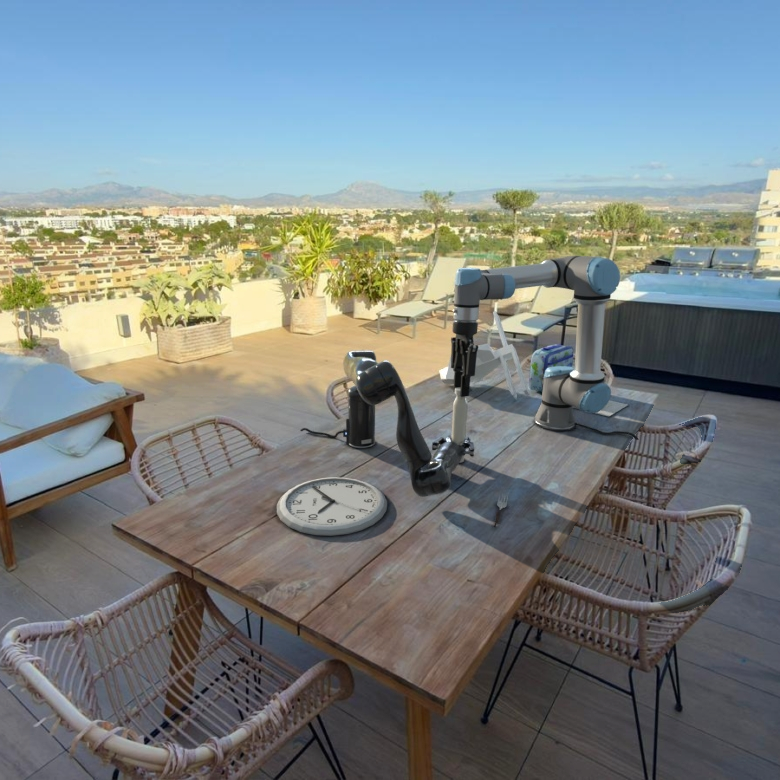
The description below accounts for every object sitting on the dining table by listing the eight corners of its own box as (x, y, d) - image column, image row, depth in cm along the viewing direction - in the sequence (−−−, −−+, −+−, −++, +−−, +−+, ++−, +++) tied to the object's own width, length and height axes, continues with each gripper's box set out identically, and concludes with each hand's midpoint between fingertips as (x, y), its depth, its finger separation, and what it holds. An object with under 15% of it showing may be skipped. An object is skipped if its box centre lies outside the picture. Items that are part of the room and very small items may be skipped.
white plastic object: (461, 429, 252) (437, 405, 227) (444, 352, 274) (420, 323, 250) (535, 404, 240) (518, 377, 215) (510, 326, 262) (492, 293, 237)
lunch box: (545, 397, 238) (550, 352, 231) (524, 391, 245) (529, 348, 239) (572, 386, 255) (578, 344, 249) (552, 381, 262) (557, 340, 256)
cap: (452, 392, 166) (452, 387, 166) (463, 391, 168) (463, 386, 167) (458, 396, 163) (458, 391, 162) (469, 394, 164) (470, 390, 164)
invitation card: (608, 416, 214) (573, 407, 224) (608, 416, 214) (573, 408, 224) (628, 404, 229) (594, 396, 238) (628, 405, 229) (594, 397, 238)
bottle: (448, 458, 173) (451, 390, 166) (460, 456, 175) (464, 389, 168) (453, 463, 169) (457, 394, 162) (466, 462, 171) (470, 393, 164)
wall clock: (392, 527, 129) (268, 531, 127) (391, 533, 130) (269, 537, 127) (383, 473, 158) (282, 475, 155) (383, 478, 158) (282, 480, 156)
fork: (489, 527, 133) (489, 520, 132) (498, 498, 147) (499, 492, 147) (499, 529, 132) (500, 523, 132) (508, 500, 147) (508, 494, 146)
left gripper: (471, 450, 154) (482, 430, 169) (424, 443, 159) (439, 424, 174) (469, 473, 156) (480, 452, 171) (423, 465, 161) (438, 445, 176)
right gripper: (442, 316, 165) (438, 387, 172) (467, 325, 149) (463, 403, 156) (463, 315, 167) (459, 385, 174) (490, 324, 152) (485, 401, 159)
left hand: (460, 438), depth 172 cm, fingers closed on bottle, 4 cm apart
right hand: (461, 393), depth 165 cm, fingers closed on cap, 4 cm apart
